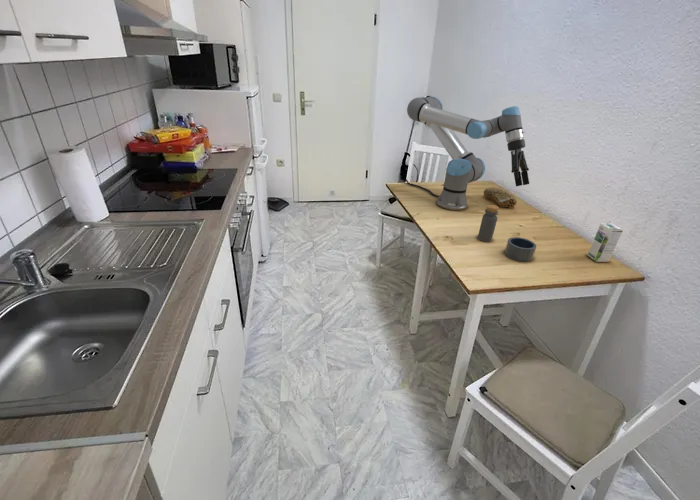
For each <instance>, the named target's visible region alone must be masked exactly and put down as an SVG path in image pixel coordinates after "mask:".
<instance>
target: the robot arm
mask: <svg viewBox="0 0 700 500" xmlns="http://www.w3.org/2000/svg"><path fill="white" fill-rule="evenodd" d="M520 111H521V110H520V107H519V106H518V105H517V106H516V105H513V106H509V107H506V108H504V109H502V111H501V114H500V115H499V116H497V117H494V118H490V119H486V120H485V119H484V120H479V119H475V118H473V117H468V116H465V115H461V114H458V113H455V112H452V111H448V110H444V109H443V103H442V101H441V100H440V99H439V98H438V97H435V96H425V97H424V96H423V97H421V96H420V97H414V98H413V99H412V100H410V101H409V103H408V105H407V108H406V113H407V116H408V117H409V118H410V119H411V120H412V121H414V122H418V123H422V124H424V125H425V127H426V128H430V129H431V131H432V132H433V134H434V135H435V136H436V138H437V139H438V141H439V143H441V145H442V147H443V148H444V149H445V151H446V152H447V154H448V155H449V157H450V158H451V160H449V161H448V163H447V165H446V169H445V176H444V182H443V187H442V190H441V193H440V195H438V194H435V193H433V192H432V191H431V190H430V189H428V188H426V187H423V186H421V185H418V184H414V183H411V182H409V181H408V179H407V178H406V179H404V181H403V182H406V183H407V184H408V185H409V186H412V187H416V188H419V189H422V190H424V191H426V192H428V193H429V194H430V195H431V196H433V197H437V201H436V205H437V206H438V207H440V208H443V209H444V210H449V211H463V210H466V209H467V208H468V207H467V206H468V199H467V190H468V184H470V183H473V182H476V181H478V180H480V179H481V178H482V177H483V176H484V174H485V172H486V164H485V162H484V160H482V159H481V158H479V157H477V156H476V155H475V154H474V153H473V151H468V149H467V148H466V146H465V145H464V144H463V143H462V141H461V140H460V138H459V137H458V135H457V134H456V132H458V133H460V134H464V135H467V136H468V137H469V138H470V139H473V140H480V139H482V138H484V139H485V138H490V137H492V136H495V135H498V134H500V133H504V134H505V141H506V147H507V151H509V152H510V157H511V158H510V159H511V160H510V161H511V173H512V174H513V177H514V182H515V187H521V186H526V185H530V179H529V173H528V171H530V168H529V166H528V164H527V160H526V157H525V151H524V150H522V149H524V148H526V141H525V140H526V139H524V138H525V136H524V135H525V131H524V130H523V123H522V117H521V116H522V115H521V112H520ZM410 183H411V184H410Z"/></svg>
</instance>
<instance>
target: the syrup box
mask: <svg viewBox="0 0 700 500" xmlns="http://www.w3.org/2000/svg"><path fill="white" fill-rule="evenodd" d="M623 232H624V229H623V228H621V227H620V226H618V225H615V224H614V223H611V222H601V223H600V224H599V226H598V228H597V231H596V233H595V236H594V238H593V241H592V243H591V245H590V247H589V250H588V251H587V254H586V256H587V257H589V258H590V259H592V260H593V261H594V262H595V263H608V262H610V260H611V257H612V255H613V253H614V252H615V249H616V247H617V245H618V243H619V240H620V239H621V236H622V234H623Z"/></svg>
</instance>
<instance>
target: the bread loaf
mask: <svg viewBox="0 0 700 500" xmlns="http://www.w3.org/2000/svg"><path fill="white" fill-rule="evenodd" d="M483 196H484V197H485V198H487V199H488V200H491V201H493V202H495V203H497V204H498V206H500V207H502V208H508V209H513V208H515V206H516V205H517V203H518V201H517V199H516V197H515V196H514V195H513V194H511V193H509V192H507V191H505V190H503V189H501V188H497V187H488V188H485V189H484V190H483Z"/></svg>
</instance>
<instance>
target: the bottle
mask: <svg viewBox="0 0 700 500" xmlns="http://www.w3.org/2000/svg"><path fill="white" fill-rule="evenodd" d="M499 209H500V208H499V205H498V206H497V205H495V204H487V205H486V209H485V210H484V214H483V215H482V218H481V222H480V227H479V230H478V234H477V240H479V241H481V242H485V243H488V242H492V240H493V237H494V233H495V229H496V226H497V222H498V216H497V215H498V214H499Z"/></svg>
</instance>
